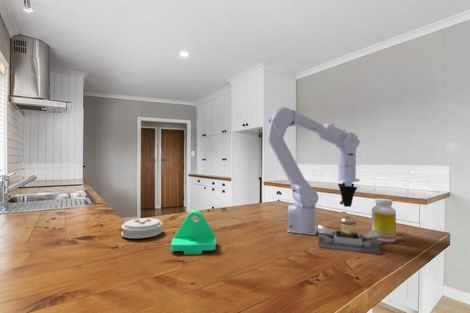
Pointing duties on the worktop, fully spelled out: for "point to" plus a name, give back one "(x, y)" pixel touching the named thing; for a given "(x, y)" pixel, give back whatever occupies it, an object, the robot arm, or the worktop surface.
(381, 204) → the supplement bottle
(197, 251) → the camera mount
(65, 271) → the worktop surface
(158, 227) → the lid
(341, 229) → the coupling
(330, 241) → the shaft stand
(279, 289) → the worktop surface
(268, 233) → the worktop surface
